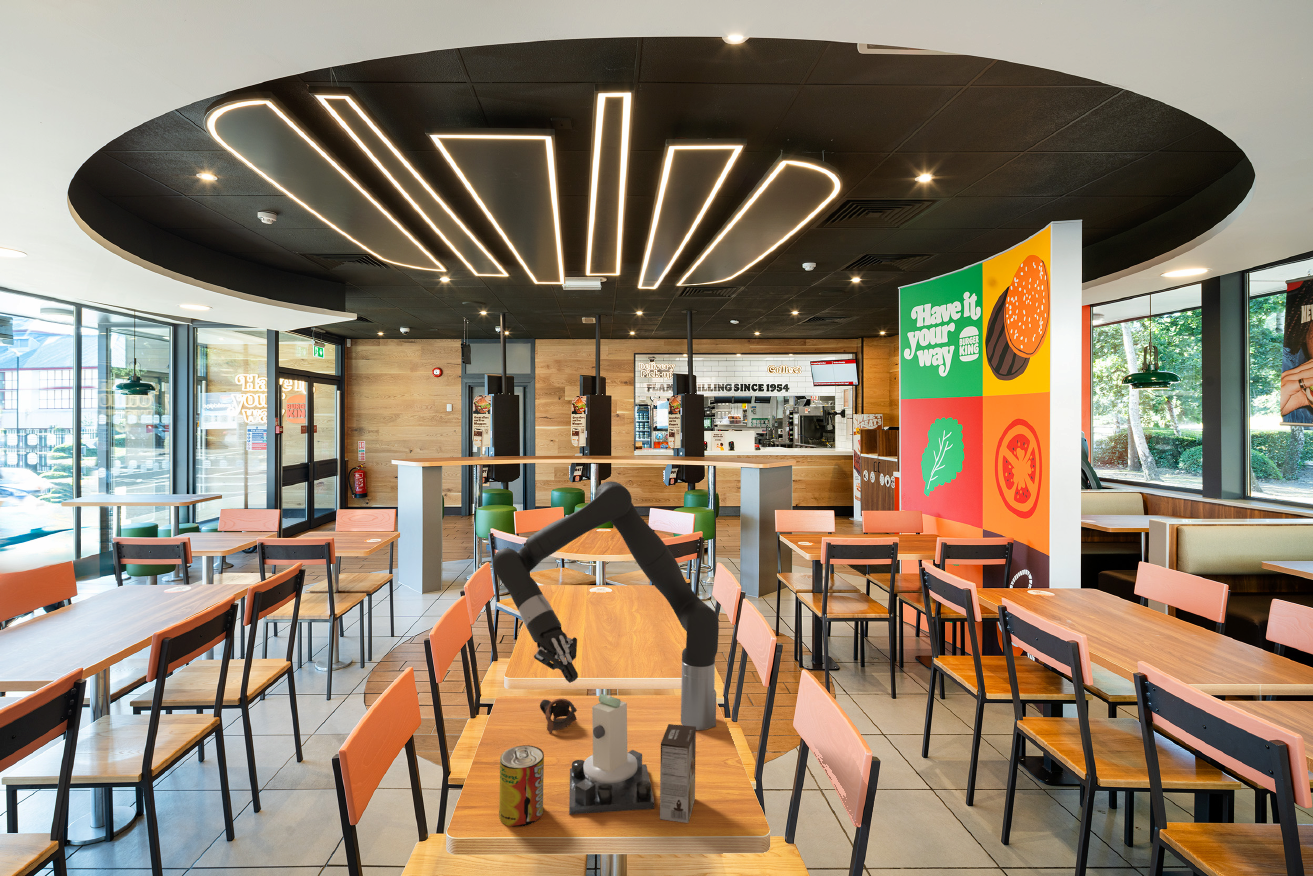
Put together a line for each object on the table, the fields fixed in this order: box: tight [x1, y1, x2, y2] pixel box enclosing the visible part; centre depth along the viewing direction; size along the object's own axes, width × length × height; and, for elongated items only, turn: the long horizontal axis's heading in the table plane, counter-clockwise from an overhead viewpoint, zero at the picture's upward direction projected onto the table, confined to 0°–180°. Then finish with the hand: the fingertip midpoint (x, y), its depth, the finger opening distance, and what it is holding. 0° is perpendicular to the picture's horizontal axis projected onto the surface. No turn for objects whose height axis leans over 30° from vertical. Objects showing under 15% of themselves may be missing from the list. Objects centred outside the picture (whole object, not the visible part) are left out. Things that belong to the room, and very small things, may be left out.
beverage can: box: [498, 744, 545, 828], centre depth 127 cm, size 9×9×12 cm
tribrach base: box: [568, 749, 655, 815], centre depth 135 cm, size 18×16×5 cm
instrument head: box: [583, 693, 637, 783], centre depth 136 cm, size 12×12×17 cm
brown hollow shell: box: [539, 698, 578, 734], centre depth 166 cm, size 12×10×8 cm
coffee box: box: [659, 723, 697, 824], centre depth 129 cm, size 9×6×16 cm
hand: (574, 680), depth 142 cm, fingers closed
